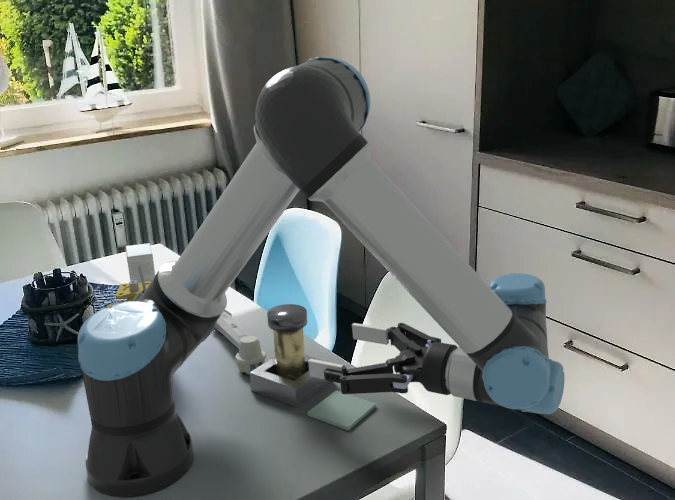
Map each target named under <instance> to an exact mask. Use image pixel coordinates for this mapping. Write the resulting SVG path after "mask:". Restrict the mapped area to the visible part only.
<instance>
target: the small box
mask: <svg viewBox="0 0 675 500" xmlns="http://www.w3.org/2000/svg"><path fill="white" fill-rule="evenodd" d="M152 251H153V250H152V247H151V243H150V242H149V243H142V244H133V245H126V246H125V252H126V259H127V268H128V275H129V282H130V281H132V280H135V281H138V283H142V282H141V278H140V274H139V270H138V266H141V270H142V274H143V278H144V282H146V281H149V282H151V281H152V280H153V278H154V277H155V275H156V271H155V264H154V256H153V252H152Z"/></svg>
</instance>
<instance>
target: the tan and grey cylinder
mask: <svg viewBox="0 0 675 500" xmlns="http://www.w3.org/2000/svg"><path fill="white" fill-rule="evenodd" d="M266 317H267V326H268V328H269V329H270V330H272V332H273V344H274V346H273V347H274V355H275V356H274V357H275V359H276V372H277V376H280V377H283V378H286V379H289V380H292V381H295V380H296V379H298V378H299V377H300V376H302V375H303V374H305V373H306V369H305V355H306V354H305V353H306V352H305V340H304V339H305V338H304V337H305V336H304V327H306V326H307V324H308V310H307V308H306V307H304V306H303V305H299V304H295V303H286V304H280V305H276V306H273V307H272V308H269V310H268V311H267V313H266Z"/></svg>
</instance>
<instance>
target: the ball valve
mask: <svg viewBox="0 0 675 500" xmlns="http://www.w3.org/2000/svg"><path fill="white" fill-rule="evenodd" d="M150 283H151V282H149V281H146V282H145V286H146V289H147V287H148V286H149V284H150ZM142 290H143V286H142V283H138V281H135V280H132V281H130V280H129V282H127V283H120V284H119V286H118V289H117V290H116V293H115V299H116V300H119V302H118V303H122V302H130V301H133V299H134V297H135V296H136V295H137V294H138V293H139V292H140V291H142ZM124 299H126V300H124ZM114 304H115V303H114ZM114 304H113V303H112V304H107V307H106V308H111V307H112V305H114Z"/></svg>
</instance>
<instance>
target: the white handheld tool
mask: <svg viewBox="0 0 675 500" xmlns="http://www.w3.org/2000/svg"><path fill="white" fill-rule="evenodd" d="M213 330H216V331H217V332H219V333H220V334H221V335H223V336H224V337H225V338H226V339H228V341H230V343H231V344H233V345H234V346H235V347H236V348H237V349H238V352H237V353H236V355H235V361H236V362H237V364H238V371H239V372H240V373H241V374H242V373H246V375H250V372H251V371H253V370H254V369H256V368H258V367H259V366H261V365H262V364H264V363H265V360H266V358H267V353H266V351H264V350H263V349H262V348H261V343H260V340H259V338H258V337H257V336H255V335H254V336H253V335H249V334H248V332H246V331H245V329H244V328H243V327H242V326H241V325H240V324H239V323H238V322H237V321H236V320H235V318H234V317H233V314H232V313H231V312H229V311H228V310H226V309H225V310H224V312H223V313H222V314H221V316H220V317H219V319H218V320H217V323H216V324H215V327H214V329H213Z"/></svg>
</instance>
